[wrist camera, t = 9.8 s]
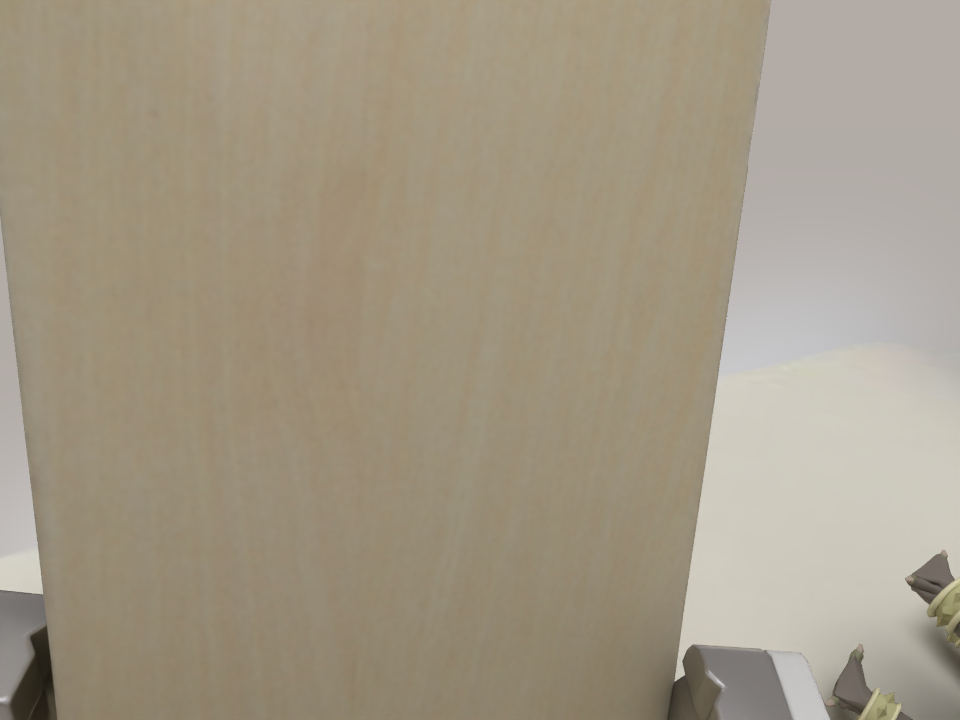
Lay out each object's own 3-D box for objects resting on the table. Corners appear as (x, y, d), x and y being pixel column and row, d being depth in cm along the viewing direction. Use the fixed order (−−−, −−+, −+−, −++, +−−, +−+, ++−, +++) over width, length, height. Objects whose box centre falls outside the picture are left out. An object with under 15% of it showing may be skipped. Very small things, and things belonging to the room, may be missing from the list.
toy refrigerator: (474, 857, 22) (524, -55, 15) (616, 1193, 15) (808, -143, 9) (136, 953, 19) (24, -109, 13) (133, 1415, 13) (-99, -296, 6)
